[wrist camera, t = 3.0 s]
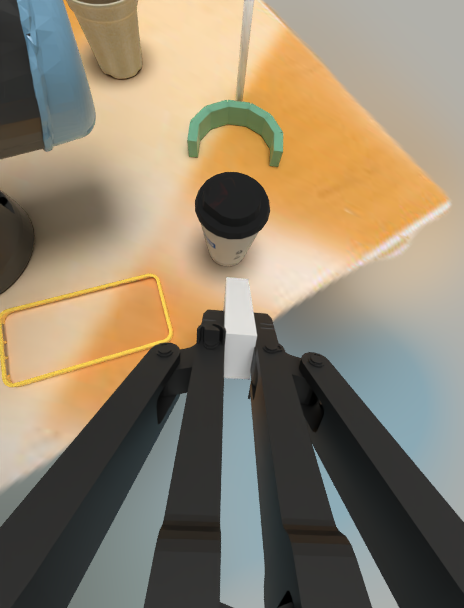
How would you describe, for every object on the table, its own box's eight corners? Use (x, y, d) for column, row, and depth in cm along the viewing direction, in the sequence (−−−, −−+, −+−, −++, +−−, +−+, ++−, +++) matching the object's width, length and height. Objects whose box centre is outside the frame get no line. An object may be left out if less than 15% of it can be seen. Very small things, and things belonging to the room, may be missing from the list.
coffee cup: (256, 228, 33) (276, 167, 23) (252, 278, 31) (271, 235, 21) (203, 221, 32) (199, 156, 23) (195, 271, 30) (187, 224, 21)
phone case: (5, 314, 28) (-5, 311, 27) (159, 275, 30) (157, 271, 29) (13, 389, 26) (2, 390, 25) (176, 341, 28) (174, 339, 27)
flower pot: (127, 34, 40) (105, -54, 32) (166, 69, 39) (154, -14, 30) (76, 60, 38) (38, -29, 29) (115, 97, 36) (87, 16, 28)
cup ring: (189, 156, 35) (187, 140, 32) (195, 113, 37) (193, 95, 34) (278, 166, 35) (282, 151, 33) (278, 124, 37) (283, 107, 35)
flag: (234, 114, 37) (252, -88, 21) (234, 109, 38) (252, -95, 21) (273, 119, 38) (320, -77, 21) (273, 114, 38) (319, -83, 22)
